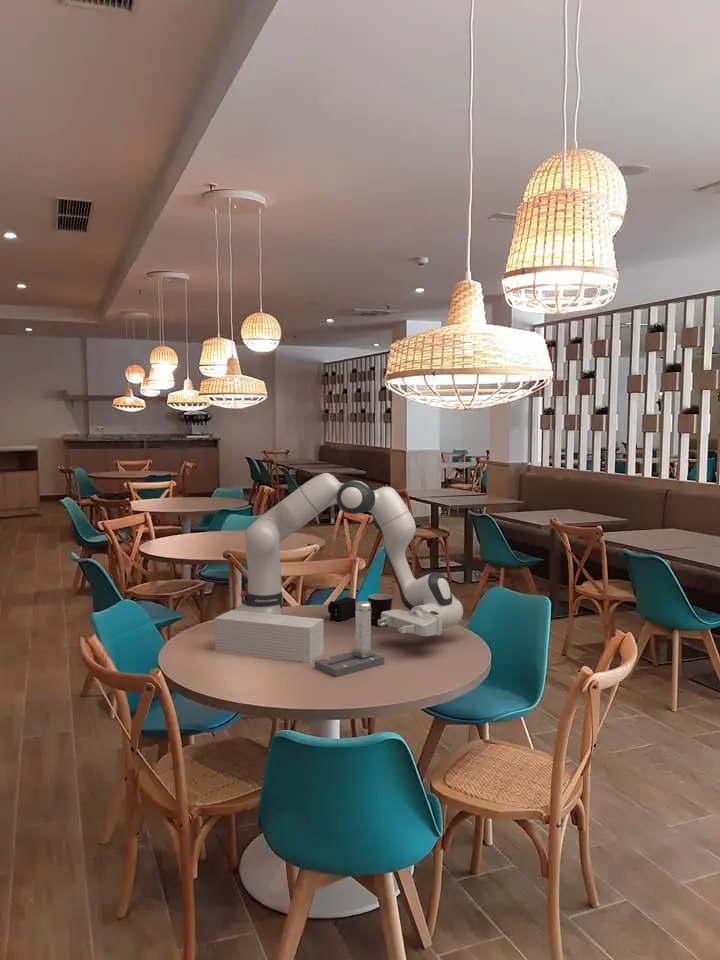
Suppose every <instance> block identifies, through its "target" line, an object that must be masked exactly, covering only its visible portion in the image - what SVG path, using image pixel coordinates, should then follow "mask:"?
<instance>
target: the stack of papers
mask: <svg viewBox="0 0 720 960" xmlns="http://www.w3.org/2000/svg"><path fill="white" fill-rule="evenodd" d="M217 651H220V652H219V653H225V652H227V654H233V653H235V655H242V654H244V655H245V656H250V655H254V656H253V657H258V656H263V657H262V658H266V657H270V658H269V659H276V660H283V659H284V661H291V660H293V662H299V661H302V662H301V663H307V662H310V663H311V662H313V661H315V659H317V658H318V657H319V656H321V655H322V654H323V653H324V618H318V617H316V618H315V617H306V616H298V615H297V616H296V615H286V614H282V615H278V614H268V613H258V612H248V611H238V610H235V609H231V610H228V611H227V612H224V613H222V614H220V615H217V616H216V617H214V652H217ZM320 654H321V655H320ZM244 655H243V656H244ZM316 657H317V658H316ZM294 660H295V661H294ZM312 660H313V661H312Z"/></svg>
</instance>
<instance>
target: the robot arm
mask: <svg viewBox="0 0 720 960" xmlns="http://www.w3.org/2000/svg"><path fill="white" fill-rule="evenodd" d="M333 505H337V506H338V507H339V509H341V511H342V512H344V513H346V514H349V515H360V514H362V513H367V512H368V513H370V514H371V515H372V516H373V518H375V520H376V522H377V524H378V526H379V528H380V530H381V533H382V535H383V540H384V551H385V555H386V558H387V562H388V563H389V566H390V569H391V570H392V574H393V575H394V579H395V581H396V584H397V587H398V590H399V596H400V600H401V602H402V604H403V605H404V607H406V608H407V609H408V610H409V611H405V610H402V609H391V610H389V611H383V612H382V613H381V619H380V620H378V625H379V626H385V624H386V625H389V626H390V627H394V628H396V629H398V630H397V631H398V632H399V633H401V634H405V633H407V634H415V635H418V636H420V637H432V636H437V637H438V636H441V635H442V631H443V630H444V629H447V628H451V627H453V626H455V625H457V624H458V623H459V622H460V621H461V619H462V618H463V614H464V607H463V604H462V603H461V601H460V600H458V599H457V598H456V597H455V596H454V594H453V593H452V589H451V584H450V582H449V580H448V579H447V577H446V576H445V575H443V573H441V572H435V571H434V572H431V573H429V574H426V575H423V576H421V577H419V578H417V579H416V578H415V577H414V575H413V572H412V570H411V567H410V565H409V563H408V560H407V557H406V551H407V548H408V546H409V545H410V543H411V541H412V540H413V538H414V536H415V534H416V530H417V525H416V522H415V519H414V517H413V514H412V513H411V511H410V509H409V508H408V506H407V505H406V503H405V501H404V500H403V499H402V497H401V496H400V494H399V493H398V492H397V491H396V489H395V488H393V487H391V486H383V487H382V486H381V487H379V488H377V489H374V490H373V489H371V488H370V487H369V486H368V485H367V484H366V483H365V482H363V481H361V480H350V481H347V482H341V481H339V480H338V479H337V478H336V477H335V476H334V475H333V474H331V473H328V472H323V473H321V474H318V475H316V476H314V477H312V478H311V479H309V480H308V481H306V482H304V483H303V484H302V485H300V486H299V487H298V488H297V489H295V490H294V491H292V492H291V493H289V495H287V496H285V498H283V499H282V500H281V501H279V502H278V503H277V504H275V505H274V506H273V507H271V508H270V509H269V510H267V511H266V512H265V513H263V514H261V516H259V517H258V518H256V520H254V521H253V522H252V523H251V524H250V525H249V526H248V527H247V529H246V531H245V533H244V546H245V557H246V563H247V564H246V565H247V591H244V590H243V591H241V592H240V594H239V595H240V598H241V604H240V605H238V606H237V607H236V608H235V609H234V610H238V611H248V612H258V613H268V614H278V615H283V605H284V604H283V603H284V595H283V591H282V566H281V557H280V543H281V542H282V541H284V540H285V539H287V538H288V537H290V536H291V535H292V534H294V533H295V532H296V531H299V530H300V529H301V528H303V527H304V526H305V525H307V524H308V523H309V522H310V521H312V520H313V519H314V518H315V517H317V516H318V515H320V514H321V513H322V512H324V511H325V510H326V509H327V508H329V507H332V506H333ZM389 626H388V627H389Z"/></svg>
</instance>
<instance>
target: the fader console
mask: <svg viewBox="0 0 720 960" xmlns="http://www.w3.org/2000/svg"><path fill="white" fill-rule="evenodd" d="M381 664H382V665H385V656H382V655H379V654H377V653H375V655H374V656H370V657H366V658H359V657H357V656H354V655H351V651H349V652H346V653H342V654H338V655H334V656H329V657H326V658H322V659H317V660H314V668H315V669H316V668H317V670H319V671H321V670H322V671H321V672H323V671H324V672H323V673H325V672H326V673H325V674H328V675H330V676H332V675H333V677H335V678H337V677H341V676H346V675H349V674H352V673H356V672H359V671H363V670H367V669H370V668H374V667H378V665H379V666H381Z"/></svg>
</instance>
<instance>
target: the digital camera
mask: <svg viewBox="0 0 720 960" xmlns="http://www.w3.org/2000/svg"><path fill="white" fill-rule="evenodd" d="M356 602H357V601H356V598H354V597H349V596H348V597H347V596H346V597H343V598H340V599H337V600H334V601H333V600H331V601H329V603H328V605H327V612H328V613H329V622H330V621H335V622H334V623H336V622H342V621H344V622H346V621H345V620H347V621H349V620H351V619H350V618H352V619H354V618H356ZM353 617H354V618H353ZM348 619H349V620H348ZM342 623H343V622H342Z"/></svg>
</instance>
